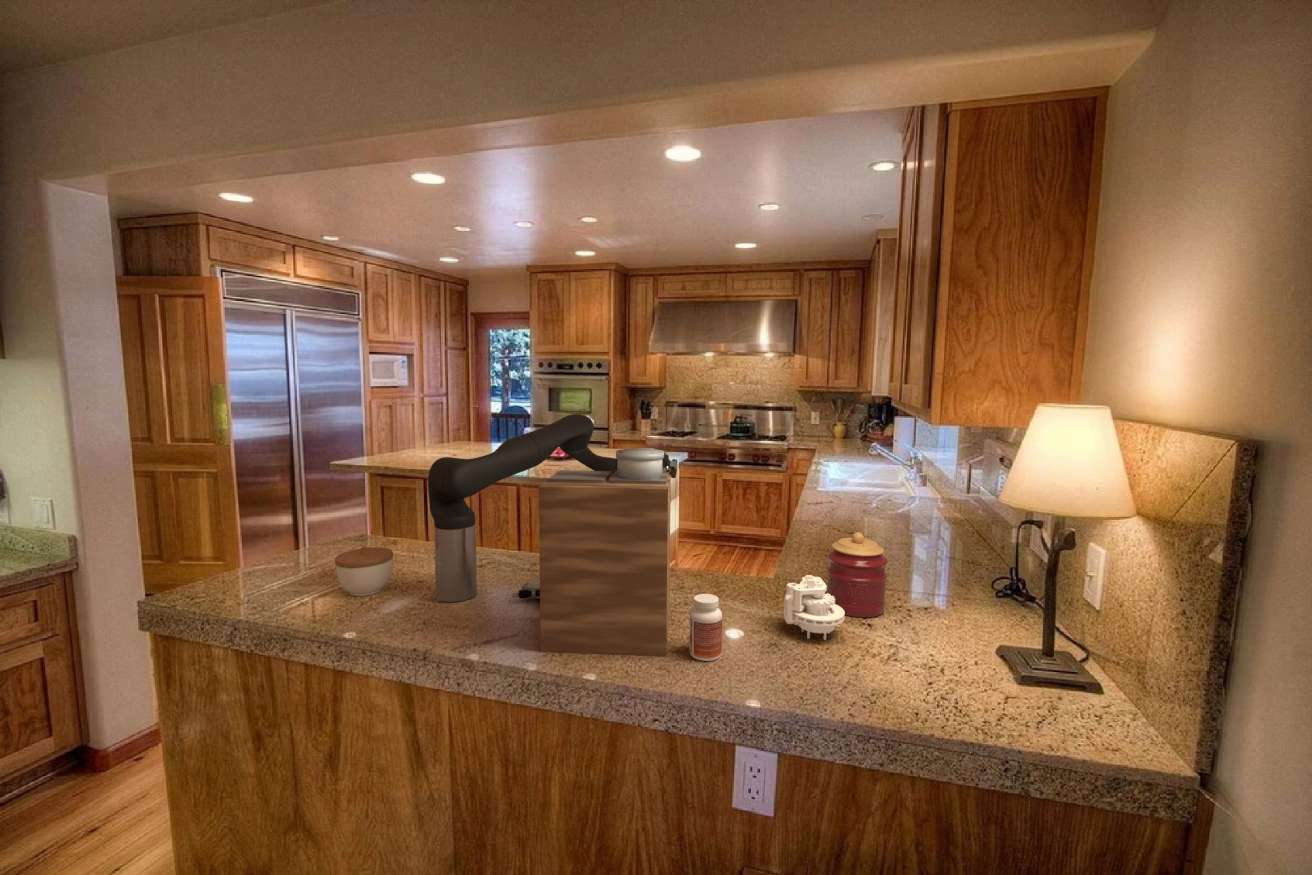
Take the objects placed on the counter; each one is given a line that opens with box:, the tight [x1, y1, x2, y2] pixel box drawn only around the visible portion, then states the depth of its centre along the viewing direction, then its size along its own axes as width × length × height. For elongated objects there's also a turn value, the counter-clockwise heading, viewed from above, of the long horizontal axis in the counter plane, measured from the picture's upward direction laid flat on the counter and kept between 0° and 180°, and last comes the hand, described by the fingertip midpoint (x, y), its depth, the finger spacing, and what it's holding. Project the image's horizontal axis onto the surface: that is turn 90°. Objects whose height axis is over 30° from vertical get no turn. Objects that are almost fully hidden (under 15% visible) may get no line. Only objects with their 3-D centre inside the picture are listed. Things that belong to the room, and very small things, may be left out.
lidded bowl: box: [334, 545, 394, 597], centre depth 139 cm, size 13×13×11 cm
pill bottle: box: [688, 593, 723, 662], centre depth 108 cm, size 6×6×11 cm
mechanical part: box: [783, 574, 846, 641], centre depth 117 cm, size 11×12×12 cm
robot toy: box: [511, 577, 540, 601], centre depth 135 cm, size 12×4×15 cm
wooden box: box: [538, 469, 672, 657], centre depth 115 cm, size 16×24×33 cm, turn 87°
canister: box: [825, 531, 889, 619], centre depth 131 cm, size 13×13×18 cm
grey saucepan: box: [615, 447, 665, 480], centre depth 121 cm, size 23×10×5 cm, turn 177°
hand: (644, 456), depth 126 cm, fingers open, 8 cm apart
